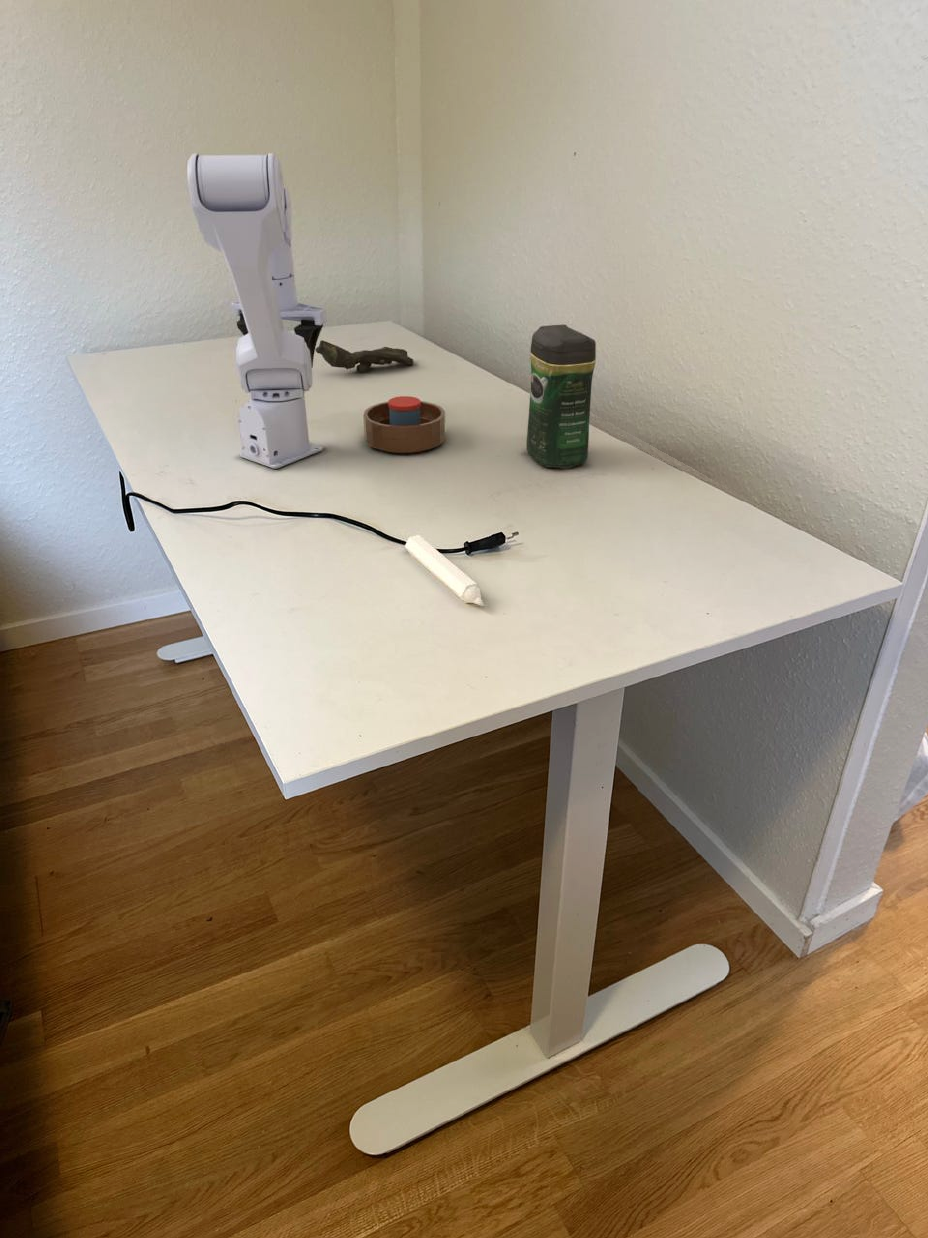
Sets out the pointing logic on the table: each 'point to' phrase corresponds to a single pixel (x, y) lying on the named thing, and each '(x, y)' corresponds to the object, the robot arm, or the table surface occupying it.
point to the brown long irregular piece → (361, 357)
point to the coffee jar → (560, 396)
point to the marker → (444, 570)
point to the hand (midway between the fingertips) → (285, 366)
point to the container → (404, 411)
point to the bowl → (404, 429)
